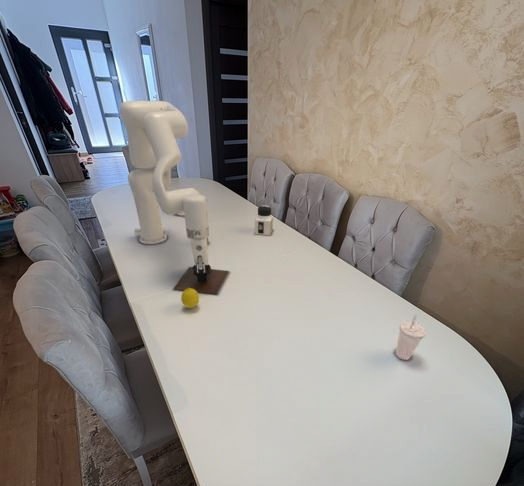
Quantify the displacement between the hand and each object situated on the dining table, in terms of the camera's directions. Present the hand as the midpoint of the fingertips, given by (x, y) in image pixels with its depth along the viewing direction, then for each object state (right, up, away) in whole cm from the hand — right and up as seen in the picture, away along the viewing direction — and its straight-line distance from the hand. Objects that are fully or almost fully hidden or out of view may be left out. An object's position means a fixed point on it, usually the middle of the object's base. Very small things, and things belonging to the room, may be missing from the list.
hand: (202, 275), depth 114 cm
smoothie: (+62, -23, -29) cm, 72 cm away
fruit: (-1, -11, -13) cm, 17 cm away
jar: (-6, +16, +28) cm, 33 cm away
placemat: (0, -2, +1) cm, 2 cm away
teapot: (-24, +37, +60) cm, 75 cm away
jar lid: (0, +3, -2) cm, 3 cm away
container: (+23, +24, +42) cm, 53 cm away
